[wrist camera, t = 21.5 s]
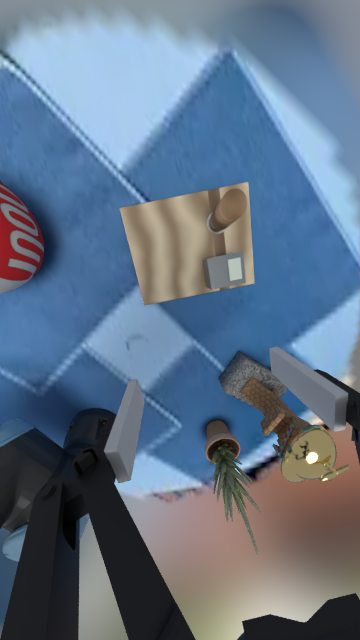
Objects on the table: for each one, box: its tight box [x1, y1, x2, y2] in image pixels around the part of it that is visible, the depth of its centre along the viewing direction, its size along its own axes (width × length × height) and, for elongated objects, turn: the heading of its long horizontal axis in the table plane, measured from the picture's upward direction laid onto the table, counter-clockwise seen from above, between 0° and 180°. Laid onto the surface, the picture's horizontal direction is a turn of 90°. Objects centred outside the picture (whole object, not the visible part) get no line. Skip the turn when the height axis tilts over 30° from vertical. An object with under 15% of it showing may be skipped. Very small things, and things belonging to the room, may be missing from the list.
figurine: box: [219, 351, 350, 483], centre depth 36 cm, size 14×11×25 cm
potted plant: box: [205, 420, 260, 554], centre depth 40 cm, size 10×10×25 cm
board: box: [120, 182, 255, 305], centre depth 37 cm, size 26×20×2 cm
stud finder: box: [203, 251, 246, 290], centre depth 35 cm, size 7×6×5 cm
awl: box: [209, 188, 247, 232], centre depth 30 cm, size 4×4×10 cm
